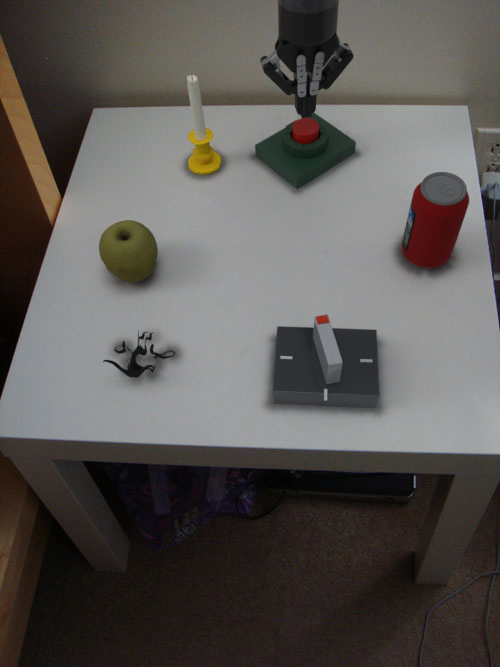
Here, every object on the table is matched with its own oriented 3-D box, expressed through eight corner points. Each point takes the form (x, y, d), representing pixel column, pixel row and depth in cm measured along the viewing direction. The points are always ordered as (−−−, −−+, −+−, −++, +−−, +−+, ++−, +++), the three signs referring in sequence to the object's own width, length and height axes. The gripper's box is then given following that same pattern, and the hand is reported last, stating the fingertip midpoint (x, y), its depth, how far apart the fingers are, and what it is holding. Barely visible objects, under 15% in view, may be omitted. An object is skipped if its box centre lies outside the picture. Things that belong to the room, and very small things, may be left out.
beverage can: (420, 227, 84) (437, 160, 74) (460, 251, 82) (484, 185, 72) (390, 253, 82) (403, 188, 72) (430, 280, 79) (450, 216, 69)
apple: (154, 241, 86) (144, 205, 80) (169, 282, 82) (160, 247, 76) (102, 257, 85) (88, 222, 79) (115, 299, 81) (101, 265, 75)
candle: (223, 152, 95) (212, 62, 82) (219, 175, 93) (207, 85, 80) (191, 152, 96) (175, 62, 83) (186, 174, 93) (169, 85, 80)
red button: (306, 123, 93) (306, 114, 91) (324, 136, 91) (324, 126, 89) (286, 135, 91) (286, 125, 90) (304, 148, 90) (304, 138, 88)
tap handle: (340, 382, 68) (343, 361, 64) (326, 384, 68) (328, 363, 64) (325, 335, 72) (327, 312, 68) (312, 337, 72) (314, 315, 68)
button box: (312, 122, 98) (313, 101, 95) (355, 153, 94) (357, 132, 90) (255, 156, 95) (254, 135, 91) (296, 189, 90) (297, 168, 87)
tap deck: (373, 337, 75) (376, 322, 72) (376, 414, 69) (379, 402, 67) (277, 333, 76) (277, 319, 73) (273, 409, 70) (272, 397, 68)
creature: (123, 338, 78) (102, 384, 73) (116, 308, 75) (93, 353, 69) (181, 345, 77) (164, 391, 72) (176, 314, 74) (158, 361, 68)
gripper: (261, 18, 71) (266, 138, 85) (369, 1, 72) (356, 122, 86) (249, -14, 75) (256, 105, 90) (352, -30, 76) (342, 91, 90)
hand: (305, 113), depth 88 cm, fingers closed
